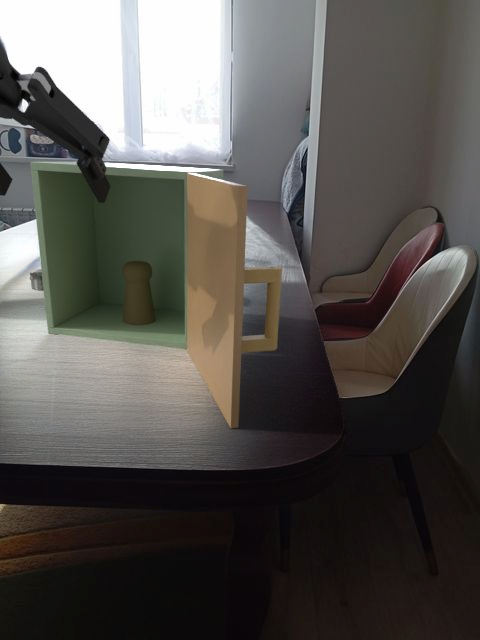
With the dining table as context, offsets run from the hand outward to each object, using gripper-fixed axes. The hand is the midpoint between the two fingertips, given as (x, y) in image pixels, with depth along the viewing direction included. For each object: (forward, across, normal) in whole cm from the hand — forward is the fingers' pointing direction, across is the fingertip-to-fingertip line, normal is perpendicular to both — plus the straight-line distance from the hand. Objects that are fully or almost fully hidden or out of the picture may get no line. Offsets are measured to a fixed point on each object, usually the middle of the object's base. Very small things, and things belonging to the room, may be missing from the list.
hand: (54, 191), depth 65 cm
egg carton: (+50, -30, +14) cm, 60 cm away
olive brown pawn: (+34, 0, 0) cm, 35 cm away
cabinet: (+35, 0, -1) cm, 35 cm away
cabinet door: (+21, +22, -15) cm, 34 cm away
